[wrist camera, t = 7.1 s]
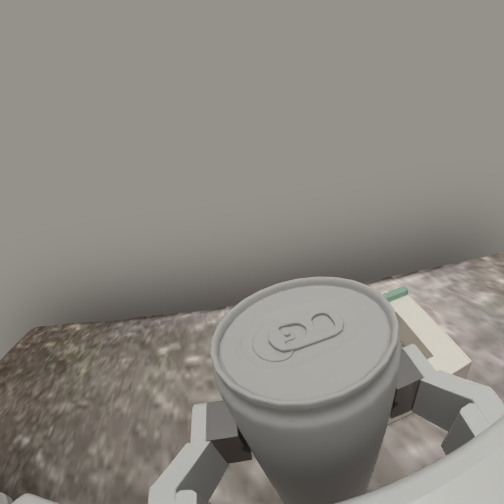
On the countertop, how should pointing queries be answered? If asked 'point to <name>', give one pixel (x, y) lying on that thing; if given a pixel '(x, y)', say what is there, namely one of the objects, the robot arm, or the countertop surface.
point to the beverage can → (311, 383)
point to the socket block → (426, 337)
